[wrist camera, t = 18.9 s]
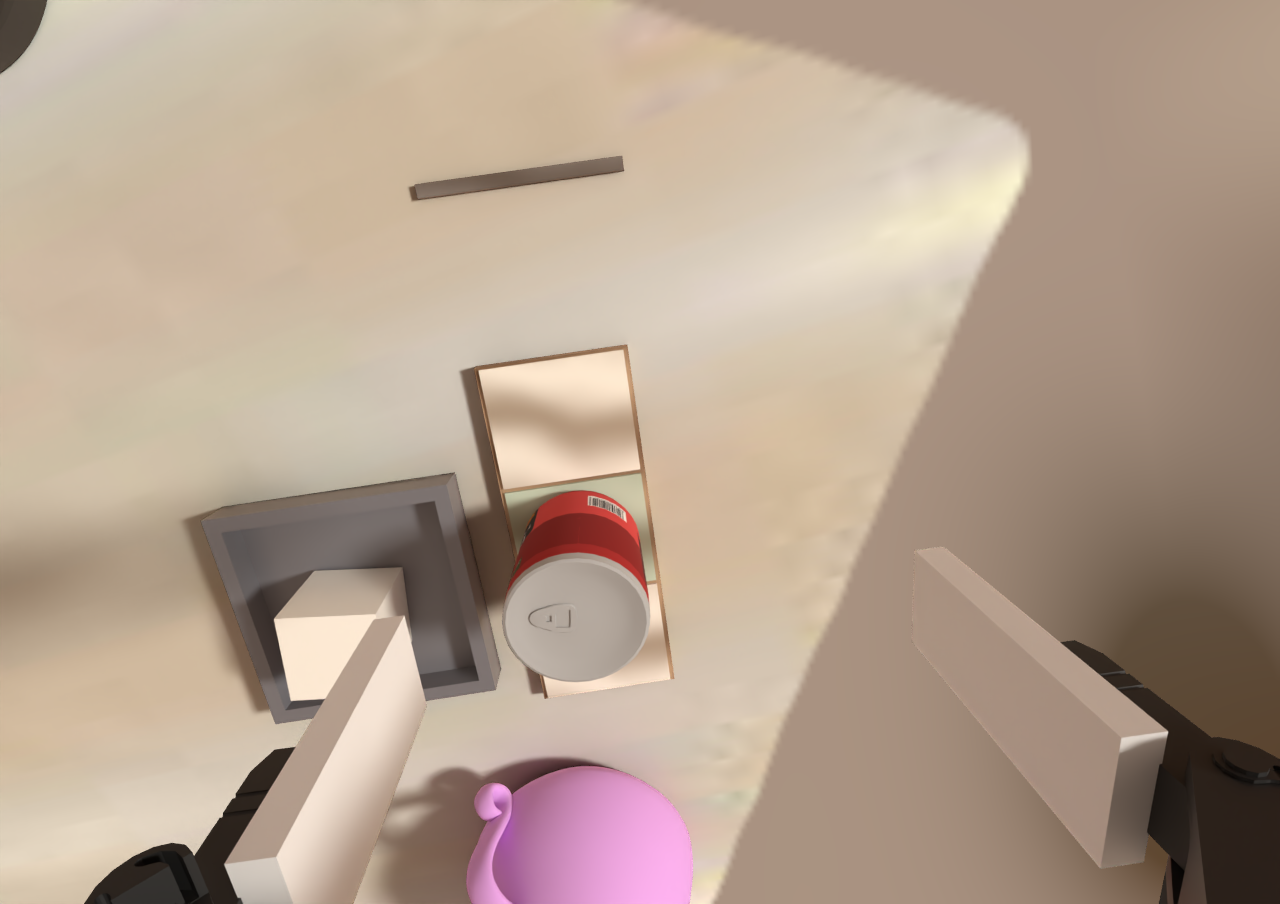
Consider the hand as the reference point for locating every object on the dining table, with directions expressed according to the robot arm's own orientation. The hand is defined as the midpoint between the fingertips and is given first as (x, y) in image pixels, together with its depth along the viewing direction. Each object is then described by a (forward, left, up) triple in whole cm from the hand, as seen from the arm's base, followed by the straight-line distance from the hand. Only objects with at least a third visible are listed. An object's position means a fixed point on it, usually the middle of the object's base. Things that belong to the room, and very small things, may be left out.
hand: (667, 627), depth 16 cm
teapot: (+37, -10, -28) cm, 47 cm away
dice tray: (+11, -20, -28) cm, 36 cm away
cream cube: (+9, -20, -24) cm, 32 cm away
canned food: (+9, -4, -27) cm, 28 cm away
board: (+3, -4, -28) cm, 28 cm away
